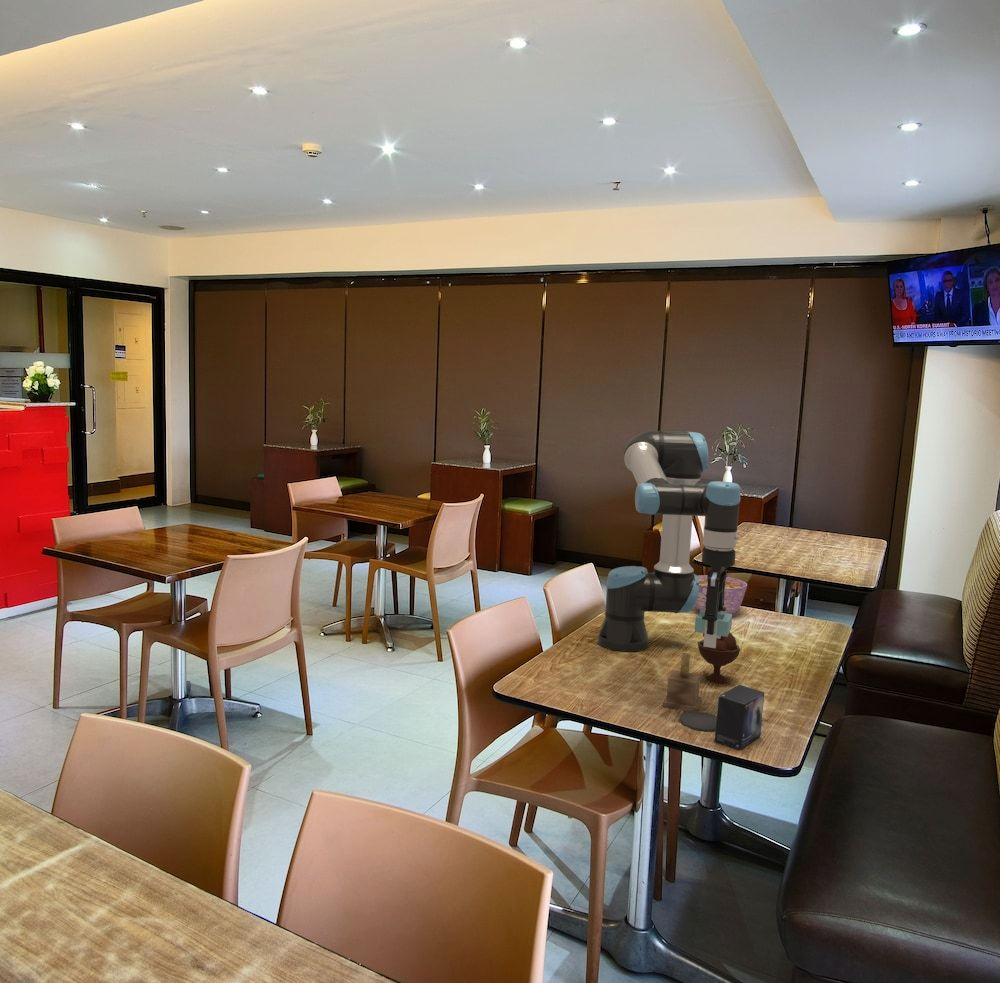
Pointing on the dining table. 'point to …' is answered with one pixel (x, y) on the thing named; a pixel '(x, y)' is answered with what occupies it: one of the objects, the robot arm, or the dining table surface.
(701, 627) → the c link
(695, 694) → the stand
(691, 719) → the coaster
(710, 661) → the ice cream bowl
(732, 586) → the bowl of food
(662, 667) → the dining table surface
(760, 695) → the small box
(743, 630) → the dining table surface
